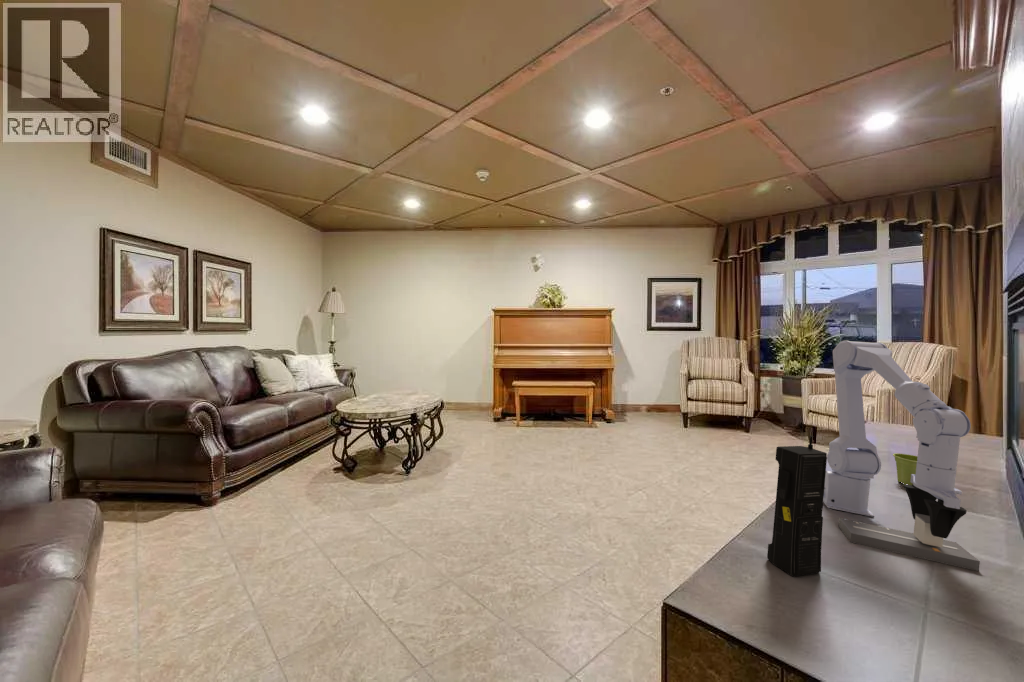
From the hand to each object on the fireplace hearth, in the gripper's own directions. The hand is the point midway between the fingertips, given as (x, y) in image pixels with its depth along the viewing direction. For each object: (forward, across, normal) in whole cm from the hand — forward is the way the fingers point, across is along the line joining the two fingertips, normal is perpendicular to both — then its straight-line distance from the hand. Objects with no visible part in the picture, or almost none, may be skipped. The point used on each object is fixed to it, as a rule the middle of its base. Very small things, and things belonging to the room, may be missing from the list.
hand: (929, 528), depth 84 cm
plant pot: (+6, +54, -17) cm, 57 cm away
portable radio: (+5, -23, +28) cm, 37 cm away
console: (+5, 0, +4) cm, 7 cm away
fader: (+3, 0, 0) cm, 3 cm away
